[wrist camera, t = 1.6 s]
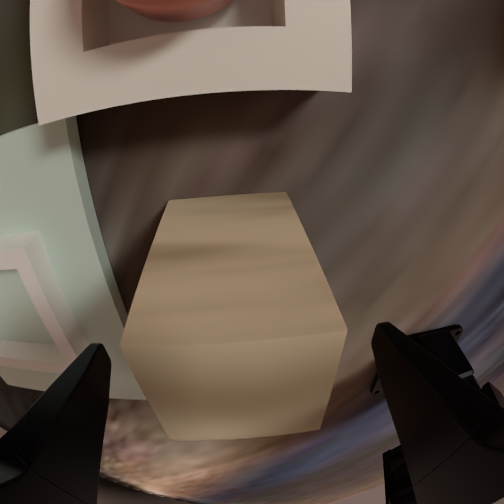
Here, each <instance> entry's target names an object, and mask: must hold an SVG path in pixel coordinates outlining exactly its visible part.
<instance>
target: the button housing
mask: <svg viewBox="0 0 504 504" xmlns="http://www.w3.org/2000/svg"><path fill="white" fill-rule="evenodd" d="M30 49H31V65H32V77H33V87H34V95H35V103H36V110H37V117H38V123H39V126H40V125H43V124H46V123H50V122H53V121H57V120H60V119H64V118H68V117H71V116H75V115H79V114H84V113H88V112H92V111H96V110H101V109H106V108H110V107H115V106H120V105H126V104H131V103H137V102H143V101H149V100H156V99H162V98H170V97H178V96H186V95H195V94H206V93H218V92H233V91H253V90H317V91H338V92H352V39H351V10H350V0H234V1H233V2H231V3H230V4H229V5H227V6H225V7H224V8H222V9H221V10H219V11H217V12H214V13H212V14H210V15H207V16H205V17H201V18H198V19H194V20H188V21H179V22H165V21H157V20H153V19H149V18H146V17H144V16H141V15H139V14H137V13H135V12H134V11H132V10H130V9H129V8H127V7H125V6H124V5H122V4H120V3H119V2H117V1H115V0H30Z"/></svg>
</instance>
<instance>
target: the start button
mask: <svg viewBox="0 0 504 504" xmlns="http://www.w3.org/2000/svg"><path fill="white" fill-rule="evenodd" d="M115 1H117V2H119V3H120V4H122V5H124V6H125V7H127V8H129V9H130V10H132V11H134V12H135V13H137V14H139V15H141V16H144V17H146V18H149V19H153V20H157V21H165V22H179V21H188V20H194V19H198V18H201V17H205V16H207V15H210V14H212V13H214V12H217V11H219V10H221V9H222V8H224V7H225V6H227V5H229V4H230V3H231V2H233V1H234V0H115Z"/></svg>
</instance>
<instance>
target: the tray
mask: <svg viewBox="0 0 504 504" xmlns="http://www.w3.org/2000/svg"><path fill="white" fill-rule="evenodd" d="M127 318H128V315H127V312H126V309H125V307H124V304H123V301H122V298H121V295H120V293H119V290H118V287H117V284H116V281H115V278H114V275H113V272H112V269H111V265H110V262H109V259H108V256H107V252H106V249H105V246H104V242H103V239H102V235H101V232H100V228H99V224H98V220H97V217H96V213H95V209H94V205H93V201H92V197H91V192H90V188H89V184H88V179H87V174H86V170H85V165H84V160H83V155H82V149H81V144H80V138H79V132H78V126H77V119H76V115H75V116H71V117H68V118H64V119H60V120H57V121H53V122H50V123H46V124H43V125H40V126H39V123H35V124H32V125H28V126H25V127H22V128H20V129H17V130H14V131H11V132H8V133H5V134H3V135H0V376H1V377H2V378H3V380H4V381H5V382H6V383H7V384H8V385H12V386H17V387H23V388H28V389H34V390H40V391H46V390H47V389H48V387H49V386H50V385H51V384H52V383H53V382H54V381H55V380H56V379H57V378H58V377H59V376H60V375H61V374H62V372H63V371H64V370H65V369H66V368H67V367H68V366H69V365H70V364H71V363H72V362H73V361H74V360H75V359H76V358H77V357H78V356H79V355H80V354H81V353H82V352H83V350H84V349H85V348H86V347H87V346H88V345H89V344H91V343H102V344H103V345H104V347H105V349H106V351H107V353H108V355H109V357H110V359H111V364H112V365H111V378H110V393H109V398H113V399H131V400H147V399H146V397H145V396H144V394H143V392H142V390H141V388H140V386H139V384H138V382H137V381H136V379H135V377H134V375H133V373H132V371H131V369H130V367H129V365H128V363H127V361H126V359H125V357H124V354H123V352H122V350H121V348H120V342H121V339H122V335H123V332H124V328H125V325H126V322H127Z"/></svg>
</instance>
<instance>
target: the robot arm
mask: <svg viewBox="0 0 504 504" xmlns="http://www.w3.org/2000/svg"><path fill="white" fill-rule="evenodd" d="M462 332H463V328H462V327H461V326H460V325H454V326H450V327H446V328H442V329H438V330H434V331H429V332H425V333H421V334H416V335H411V336H407V335H406V334H404V333H403V332H402V331H400V330H399V329H398V328H396V327H395V326H394V325H392V324H391V323H389V322H383V323H378V324H377V325H376V328H375V331H374V334H373V337H372V342H371V344H372V350H373V354H374V358H375V362H376V366H377V370H378V372H377V375H376V377H375V379H374V382H373V384H372V386H371V389H370V393H371V395H372V396H376V395H381V394H384V395H385V398H386V401H387V404H388V407H389V410H390V413H391V416H392V419H393V422H394V425H395V428H396V431H397V435H398V438H399V441H400V444H401V445H399V446H397V447H396V448H394V449H392V450H388V451H386V452H384V453H383V467H384V480H385V495H386V504H504V397H503V395H502V394H501V392H500V391H499V390H498V389H497V388H495V387H494V386H493V385H492V384H491V383H490V382H487V383H486V384H485V385H484V386H482V389H481V388H480V386H479V384H478V383H477V381H476V379H475V377H474V376H473V373H474V370H473V368H472V367H471V365H470V363H469V362H468V360H467V358H466V357H465V355H464V353H463V352H462V350H461V349H460V347H459V345H458V344H457V341H458V339H459V337H460V336H461V334H462ZM111 365H112V364H111V359H110V357H109V355H108V353H107V351H106V349H105V347H104V345H103V344H102V343H91V344H89V345H88V346H87V347H86V348H85V349H84V350H83V352H82V353H81V354H80V355H79V356H78V357H77V358H76V359H75V360H74V361H73V362H72V363H71V364H70V365H69V366H68V367H67V368H66V369H65V370H64V371H63V372H62V374H61V375H60V376H59V377H58V378H57V379H56V380H55V381H54V382H53V383H52V384H51V385H50V386H49V387H48V389H47V390H46V391H45V392H44V393H43V394H42V395H41V396H40V397H39V398H38V399H37V401H36V402H35V403H34V404H33V405H32V406H31V407H30V408H29V410H27V412H26V413H25V414H24V415H23V416H22V417H21V418H20V419H19V420H18V421H17V423H16V424H15V425H14V426H13V427H12V428H11V429H10V430H9V431H8V432H7V433H6V434H5V435H3V436H2V437H1V438H0V504H97V493H98V482H99V472H100V462H101V454H102V446H103V439H104V432H105V425H106V418H107V412H108V405H109V393H110V378H111Z"/></svg>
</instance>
